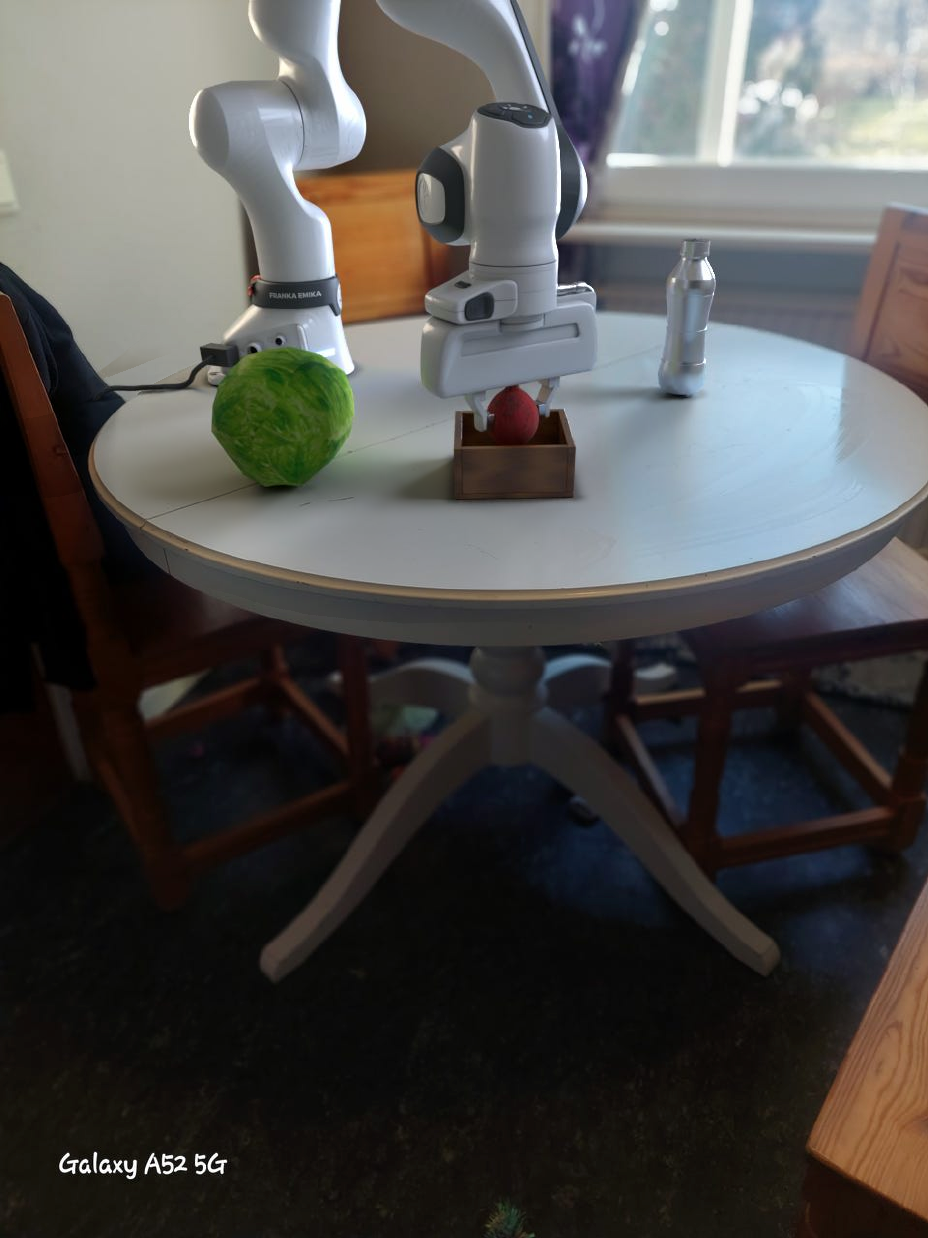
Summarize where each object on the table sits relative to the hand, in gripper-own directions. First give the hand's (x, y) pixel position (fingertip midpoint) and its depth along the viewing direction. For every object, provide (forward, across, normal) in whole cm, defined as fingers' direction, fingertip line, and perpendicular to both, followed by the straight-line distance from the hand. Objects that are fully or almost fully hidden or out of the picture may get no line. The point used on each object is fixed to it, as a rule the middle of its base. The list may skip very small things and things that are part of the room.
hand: (511, 423), depth 95 cm
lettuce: (+6, +19, -17) cm, 26 cm away
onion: (+3, 0, 0) cm, 3 cm away
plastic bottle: (+6, -37, -13) cm, 39 cm away
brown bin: (+6, 0, 0) cm, 6 cm away
